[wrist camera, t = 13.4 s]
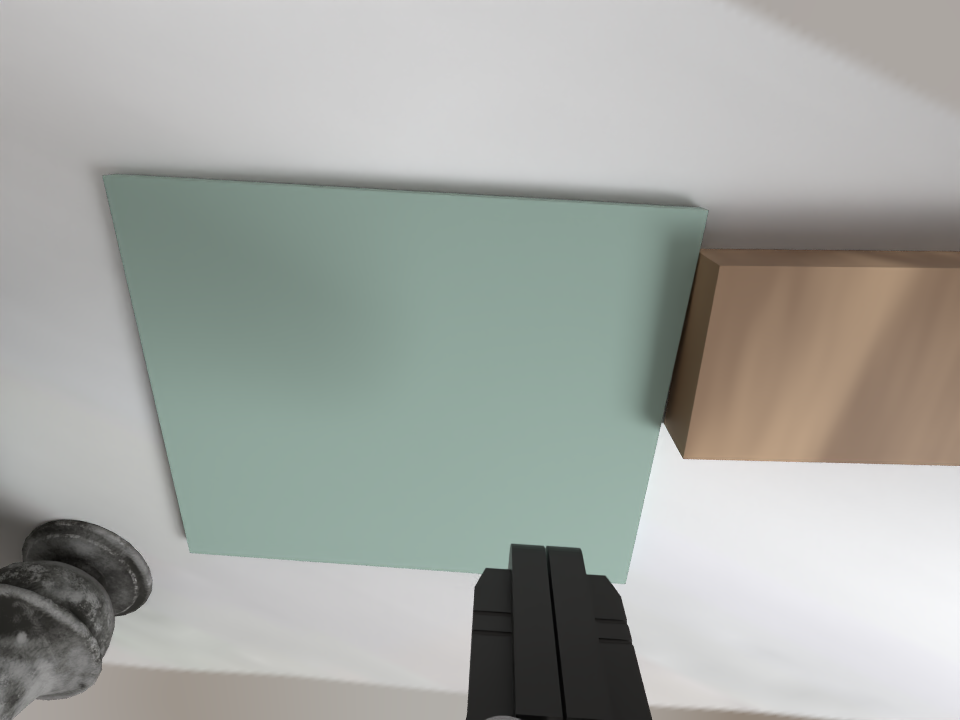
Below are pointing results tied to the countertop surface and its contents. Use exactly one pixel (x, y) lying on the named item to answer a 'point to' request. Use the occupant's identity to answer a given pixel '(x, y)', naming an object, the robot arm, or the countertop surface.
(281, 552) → the mat
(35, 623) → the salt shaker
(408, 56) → the countertop surface
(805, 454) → the slab
